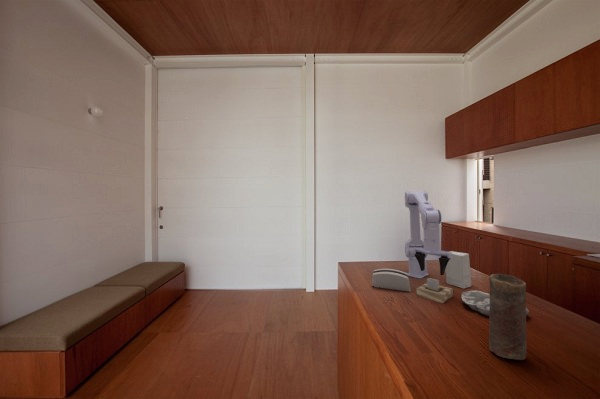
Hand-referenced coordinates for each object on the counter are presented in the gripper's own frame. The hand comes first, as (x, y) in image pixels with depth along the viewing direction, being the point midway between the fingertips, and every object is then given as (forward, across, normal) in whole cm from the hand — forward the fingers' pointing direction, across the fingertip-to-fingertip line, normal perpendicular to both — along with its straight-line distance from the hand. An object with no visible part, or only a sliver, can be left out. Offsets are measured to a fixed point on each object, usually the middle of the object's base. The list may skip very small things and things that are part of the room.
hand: (432, 272), depth 100 cm
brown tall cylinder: (+10, +28, -24) cm, 38 cm away
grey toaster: (+10, -16, -4) cm, 20 cm away
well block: (+10, 0, +1) cm, 10 cm away
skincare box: (+10, +2, +21) cm, 23 cm away
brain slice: (+10, +18, +3) cm, 21 cm away
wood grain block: (+9, 0, +1) cm, 9 cm away
